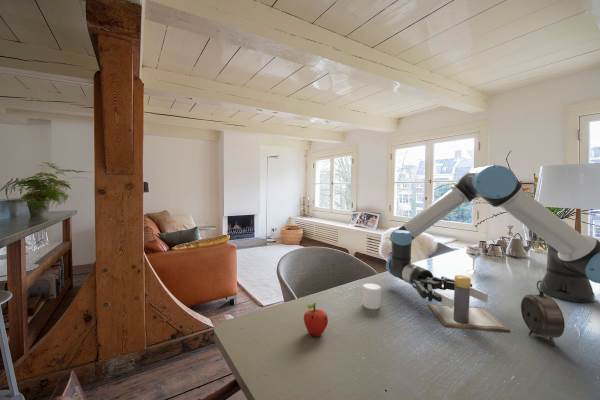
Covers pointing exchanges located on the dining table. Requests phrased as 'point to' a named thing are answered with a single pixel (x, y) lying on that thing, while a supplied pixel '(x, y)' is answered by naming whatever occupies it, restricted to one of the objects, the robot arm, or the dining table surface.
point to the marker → (461, 299)
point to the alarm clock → (542, 315)
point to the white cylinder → (371, 295)
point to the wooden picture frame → (477, 318)
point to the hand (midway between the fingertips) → (470, 301)
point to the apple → (315, 321)
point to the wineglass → (474, 255)
